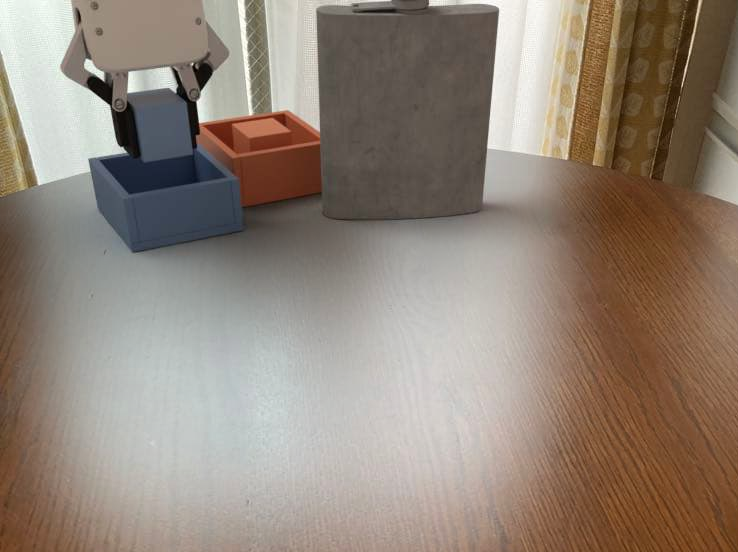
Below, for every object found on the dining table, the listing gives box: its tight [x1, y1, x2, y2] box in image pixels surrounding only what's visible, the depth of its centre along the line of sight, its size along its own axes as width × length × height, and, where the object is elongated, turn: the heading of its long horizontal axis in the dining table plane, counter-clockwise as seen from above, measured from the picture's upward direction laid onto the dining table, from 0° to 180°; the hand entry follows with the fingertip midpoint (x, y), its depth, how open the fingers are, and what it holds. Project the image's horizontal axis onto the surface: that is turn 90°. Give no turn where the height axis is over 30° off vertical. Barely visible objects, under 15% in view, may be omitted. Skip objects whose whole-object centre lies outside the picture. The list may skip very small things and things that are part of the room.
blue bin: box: [87, 142, 244, 253], centre depth 86 cm, size 11×11×5 cm
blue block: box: [127, 87, 193, 162], centre depth 81 cm, size 4×4×4 cm
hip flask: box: [315, 0, 500, 221], centre depth 84 cm, size 16×4×20 cm, turn 100°
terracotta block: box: [232, 118, 292, 155], centre depth 93 cm, size 4×4×4 cm
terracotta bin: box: [196, 109, 322, 208], centre depth 93 cm, size 11×11×5 cm
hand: (160, 146), depth 83 cm, fingers closed on blue block, 4 cm apart
